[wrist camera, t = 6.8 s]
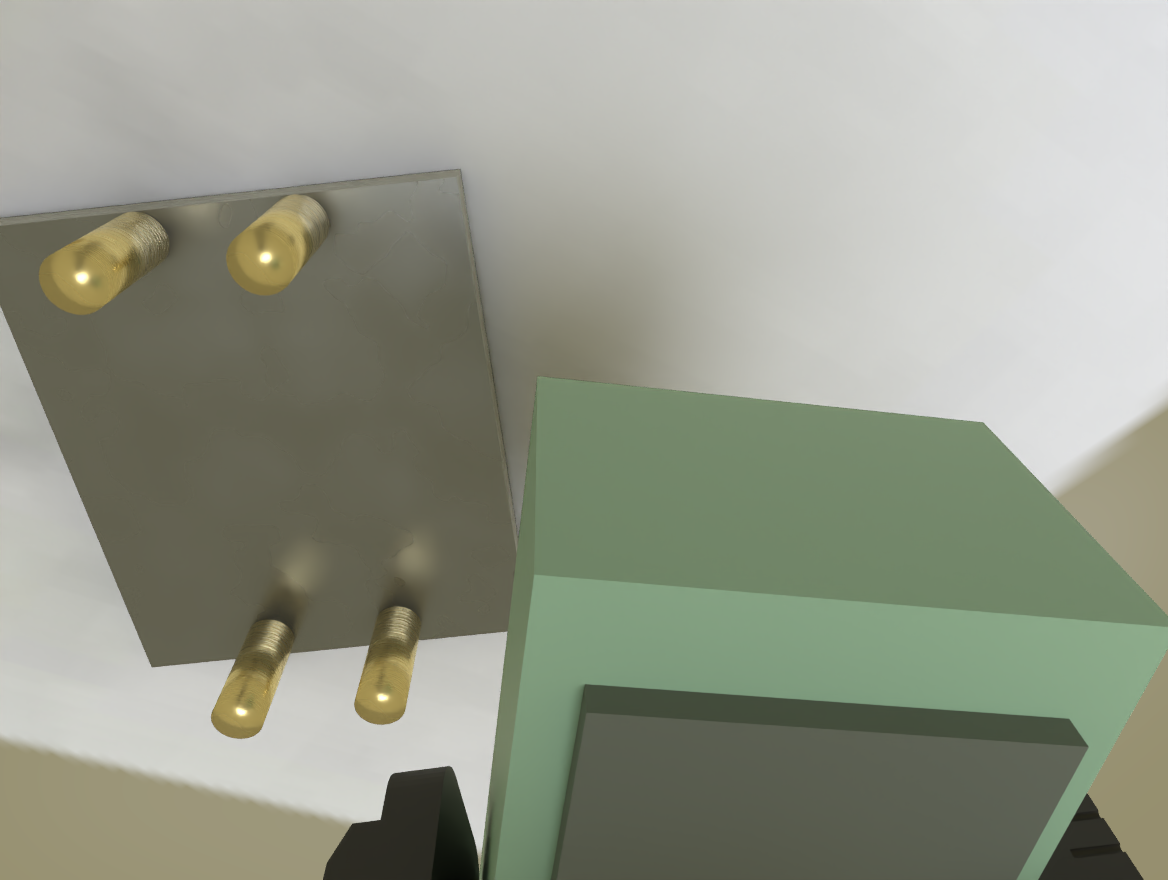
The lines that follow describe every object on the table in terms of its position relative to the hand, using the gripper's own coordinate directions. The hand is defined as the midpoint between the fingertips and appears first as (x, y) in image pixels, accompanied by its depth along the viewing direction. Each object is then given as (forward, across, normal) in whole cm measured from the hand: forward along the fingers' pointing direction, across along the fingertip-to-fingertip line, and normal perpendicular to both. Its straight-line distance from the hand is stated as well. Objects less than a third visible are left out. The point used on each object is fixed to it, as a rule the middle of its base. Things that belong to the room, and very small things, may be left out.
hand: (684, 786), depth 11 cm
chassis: (+15, +9, +2) cm, 18 cm away
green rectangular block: (+1, 0, 0) cm, 1 cm away
